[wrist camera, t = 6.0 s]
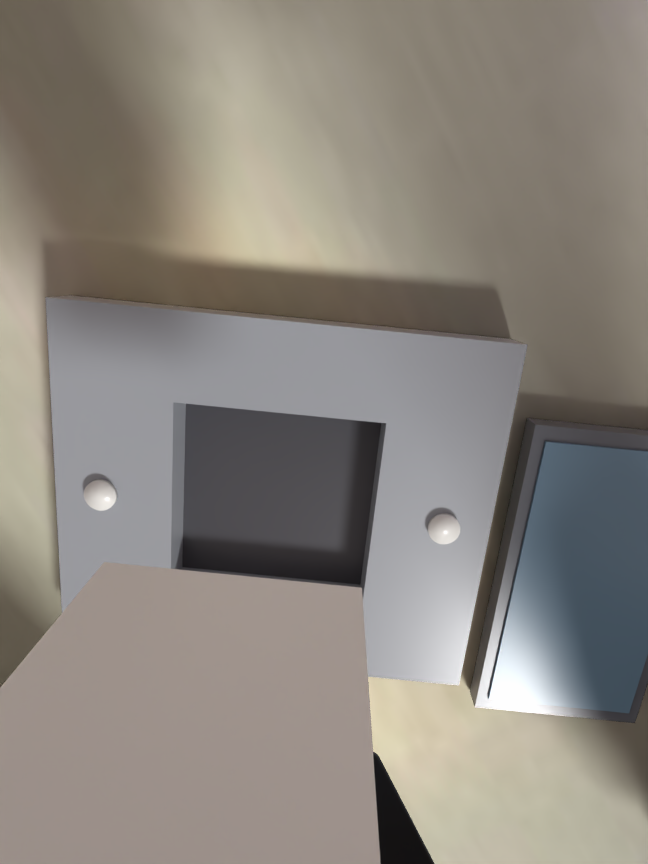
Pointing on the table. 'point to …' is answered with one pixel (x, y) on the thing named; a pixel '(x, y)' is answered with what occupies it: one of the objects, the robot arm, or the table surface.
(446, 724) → the table surface
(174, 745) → the block
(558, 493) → the phone
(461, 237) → the table surface
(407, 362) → the outlet plate
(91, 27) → the table surface
